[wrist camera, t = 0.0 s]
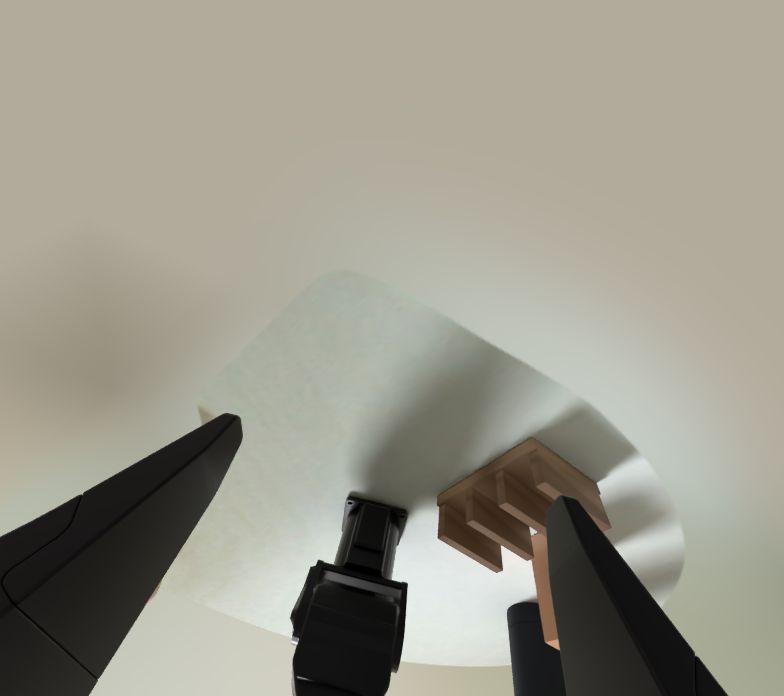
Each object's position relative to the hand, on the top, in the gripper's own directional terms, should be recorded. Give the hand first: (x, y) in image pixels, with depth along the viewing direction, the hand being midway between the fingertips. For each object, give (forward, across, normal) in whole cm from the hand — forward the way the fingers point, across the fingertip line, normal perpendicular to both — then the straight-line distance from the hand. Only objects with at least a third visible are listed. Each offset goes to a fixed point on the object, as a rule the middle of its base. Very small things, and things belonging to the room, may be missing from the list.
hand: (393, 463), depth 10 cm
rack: (+15, -12, +18) cm, 26 cm away
